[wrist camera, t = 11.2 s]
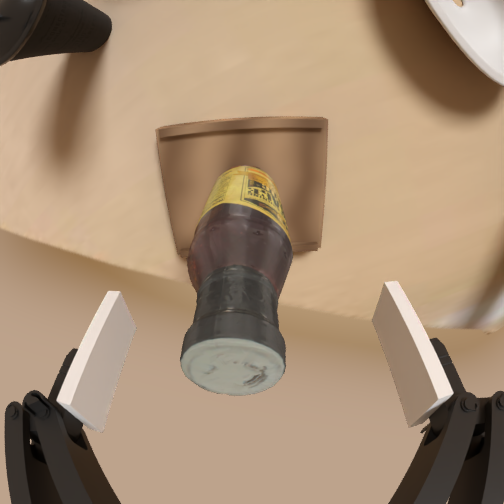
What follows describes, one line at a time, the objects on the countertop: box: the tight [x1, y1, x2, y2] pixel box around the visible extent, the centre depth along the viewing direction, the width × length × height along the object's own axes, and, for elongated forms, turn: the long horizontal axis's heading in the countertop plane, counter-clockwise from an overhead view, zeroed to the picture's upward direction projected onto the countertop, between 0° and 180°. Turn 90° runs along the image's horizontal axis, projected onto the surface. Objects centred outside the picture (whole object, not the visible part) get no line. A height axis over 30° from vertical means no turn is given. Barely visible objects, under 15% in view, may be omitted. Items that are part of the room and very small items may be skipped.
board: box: [156, 117, 328, 257], centre depth 27 cm, size 16×14×3 cm
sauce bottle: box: [180, 165, 293, 396], centre depth 18 cm, size 7×6×20 cm
